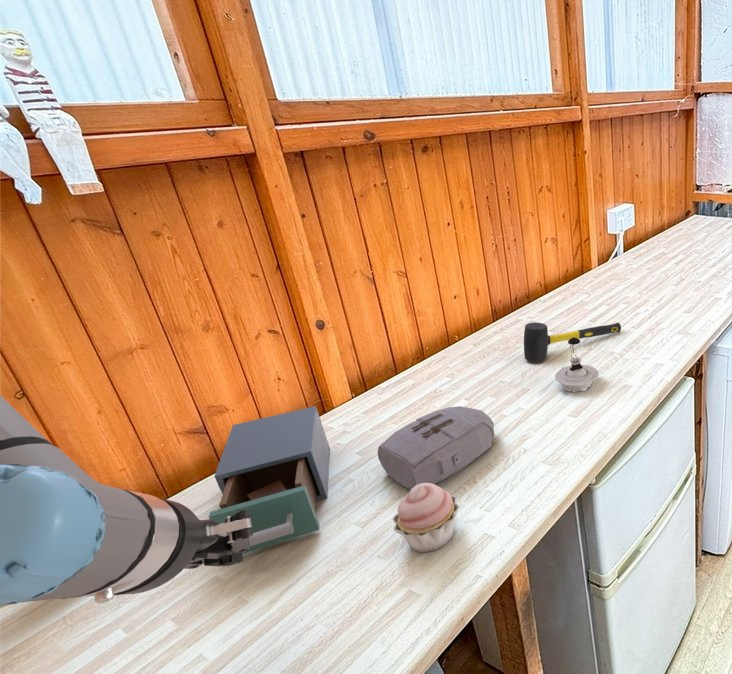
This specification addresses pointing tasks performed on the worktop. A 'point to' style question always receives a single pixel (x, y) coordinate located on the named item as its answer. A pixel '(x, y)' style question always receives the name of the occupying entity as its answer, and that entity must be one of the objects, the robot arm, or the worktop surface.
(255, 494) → the block
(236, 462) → the cabinet
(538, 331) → the mallet
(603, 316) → the worktop surface
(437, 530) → the cupcake
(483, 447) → the soft grey pack
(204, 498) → the worktop surface
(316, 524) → the drawer
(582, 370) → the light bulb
